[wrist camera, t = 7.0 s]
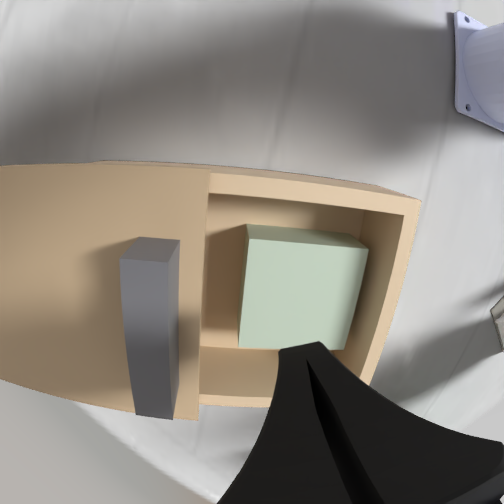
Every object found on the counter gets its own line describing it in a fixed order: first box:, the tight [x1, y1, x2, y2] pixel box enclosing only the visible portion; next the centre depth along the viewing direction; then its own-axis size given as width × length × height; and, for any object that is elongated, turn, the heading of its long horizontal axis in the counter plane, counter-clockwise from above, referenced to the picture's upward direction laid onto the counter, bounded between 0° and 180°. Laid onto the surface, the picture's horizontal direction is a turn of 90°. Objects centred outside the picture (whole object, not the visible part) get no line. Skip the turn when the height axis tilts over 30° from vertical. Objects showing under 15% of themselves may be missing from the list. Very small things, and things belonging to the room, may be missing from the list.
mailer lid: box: [0, 163, 211, 421], centre depth 12 cm, size 16×12×3 cm
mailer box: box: [91, 160, 421, 407], centre depth 17 cm, size 16×12×5 cm
